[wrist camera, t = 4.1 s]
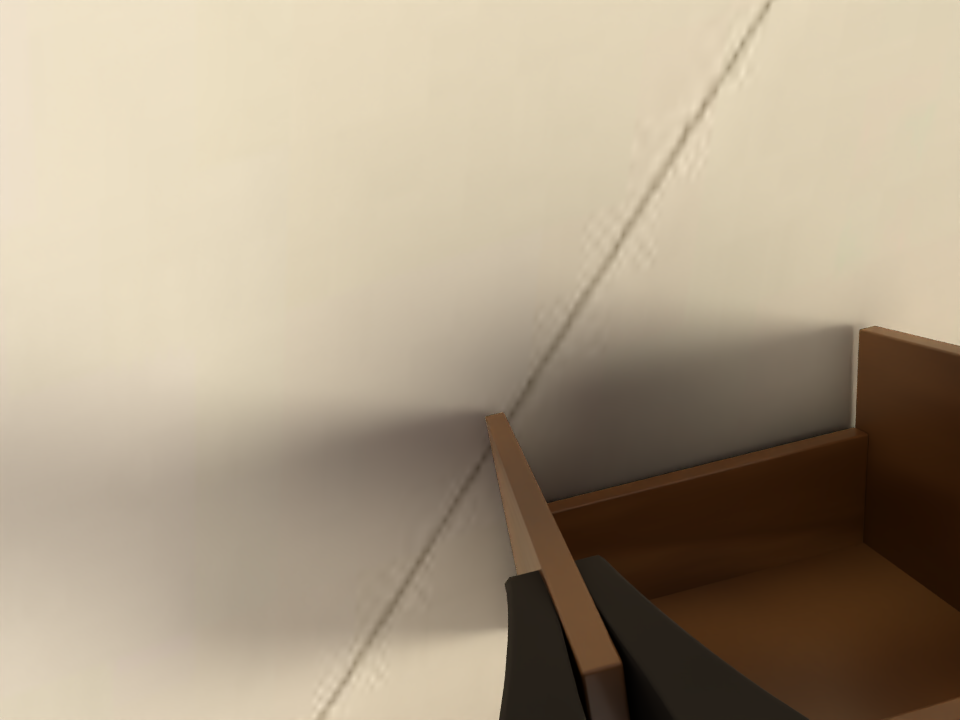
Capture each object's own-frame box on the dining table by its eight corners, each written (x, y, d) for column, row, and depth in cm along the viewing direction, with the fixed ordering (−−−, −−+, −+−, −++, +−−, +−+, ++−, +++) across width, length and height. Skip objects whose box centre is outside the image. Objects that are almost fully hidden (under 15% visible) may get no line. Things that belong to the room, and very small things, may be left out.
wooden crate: (528, 631, 18) (484, 415, 15) (864, 542, 19) (875, 325, 16) (639, 1020, 9) (580, 675, 7) (1247, 818, 10) (1400, 449, 8)
